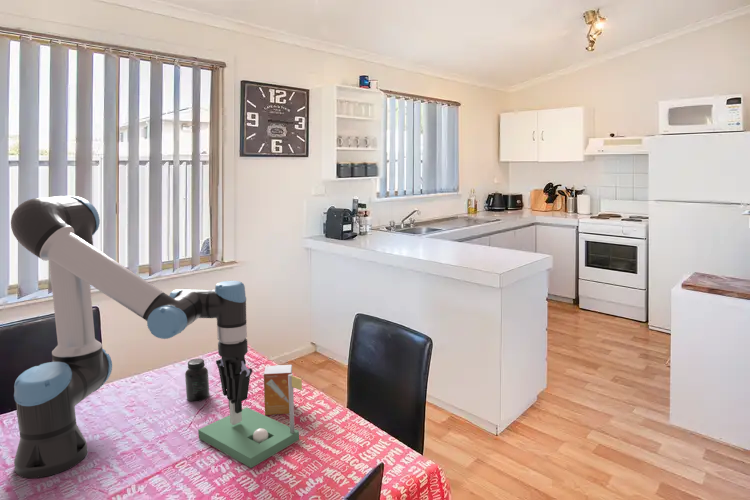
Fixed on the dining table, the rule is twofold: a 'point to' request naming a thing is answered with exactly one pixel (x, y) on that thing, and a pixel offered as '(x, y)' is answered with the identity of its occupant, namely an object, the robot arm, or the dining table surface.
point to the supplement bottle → (197, 380)
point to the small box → (276, 389)
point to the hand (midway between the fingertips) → (236, 422)
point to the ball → (260, 435)
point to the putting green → (240, 435)
